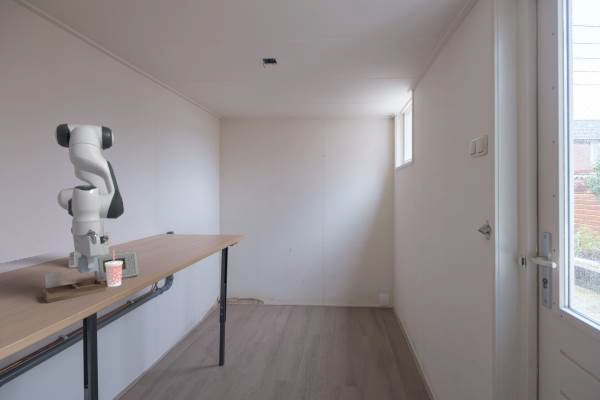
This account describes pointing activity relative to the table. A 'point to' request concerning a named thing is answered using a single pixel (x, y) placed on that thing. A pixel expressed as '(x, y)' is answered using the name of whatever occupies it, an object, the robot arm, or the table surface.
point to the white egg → (53, 279)
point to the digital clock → (127, 267)
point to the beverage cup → (114, 272)
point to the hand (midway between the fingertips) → (87, 266)
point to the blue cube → (83, 265)
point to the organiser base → (73, 290)
